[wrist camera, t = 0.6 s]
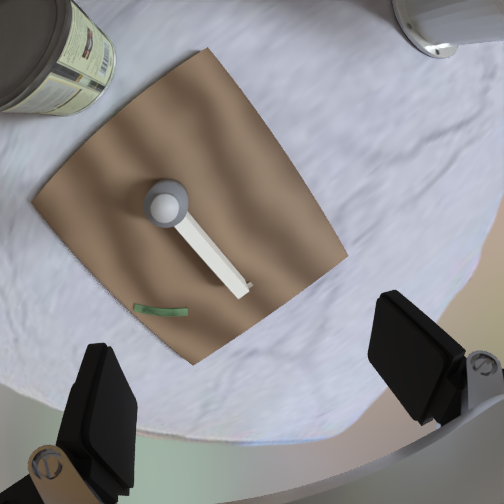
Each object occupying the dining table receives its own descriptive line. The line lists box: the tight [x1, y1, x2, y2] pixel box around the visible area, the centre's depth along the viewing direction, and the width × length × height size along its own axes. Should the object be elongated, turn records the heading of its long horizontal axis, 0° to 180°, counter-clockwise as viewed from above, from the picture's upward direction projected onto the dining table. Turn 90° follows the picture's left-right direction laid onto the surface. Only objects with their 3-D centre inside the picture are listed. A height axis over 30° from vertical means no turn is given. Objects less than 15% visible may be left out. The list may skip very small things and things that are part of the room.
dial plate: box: [32, 47, 348, 365], centre depth 31 cm, size 24×28×2 cm
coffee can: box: [0, 0, 116, 116], centre depth 16 cm, size 10×10×14 cm
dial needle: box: [143, 178, 249, 299], centre depth 29 cm, size 4×14×4 cm, turn 35°
